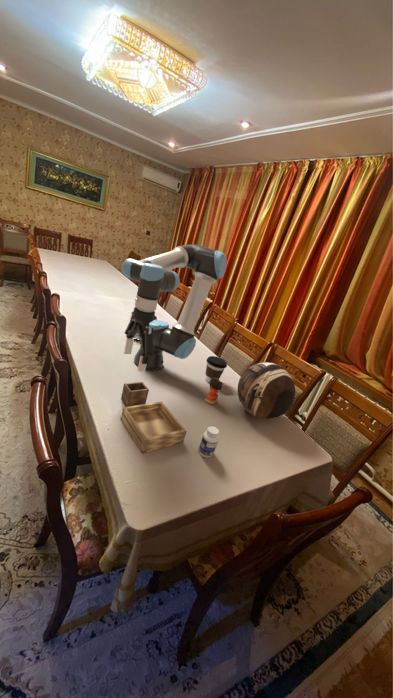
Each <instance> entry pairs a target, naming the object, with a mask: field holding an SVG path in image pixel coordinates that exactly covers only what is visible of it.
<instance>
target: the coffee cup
mask: <svg viewBox="0 0 393 698" xmlns="http://www.w3.org/2000/svg"><path fill="white" fill-rule="evenodd" d="M227 367H228V364H227V361H226V360H225V359H224V358H222V357H220V356H214V355H211V356H208V357H207V358H206V368H205V377H204V379H205V381H206V382H208V384H210V380H211V379H212V378H213V377H216V378H218V379H219V380H220V379H221V376H222V375H223V373H224V371H225V369H226V368H227Z"/></svg>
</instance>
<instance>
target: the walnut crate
mask: <svg viewBox="0 0 393 698" xmlns="http://www.w3.org/2000/svg"><path fill="white" fill-rule="evenodd" d="M149 391H150V389H149V387H147V386H146V384H145V383H144V382H143V381H137V382H136V381H135V382H128V383H127V382H125V383H123V388H122V393H121V397H120V399H121V401H122V400H123V401H122V402H123V404H124V405H125V407H129V406H135V405H142V404H147V400H148V399H147V398H148V395H149Z"/></svg>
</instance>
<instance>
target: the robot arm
mask: <svg viewBox="0 0 393 698" xmlns="http://www.w3.org/2000/svg"><path fill="white" fill-rule="evenodd" d="M227 262H228V261H227V256H226V254H225V253H224V252H221V251H219V250H218V249H213V248H209V247H206V246H202V245H199V244H184V245H179V246H176V247H174V248H173V249H172V250H171V251H168V252H167V251H166V252H164V253H160V254H157V255H153V256H150V257H146V258H142V259H140V260H139V259H138V260H137V259H135V258H127V259H125V260H124V261H123V263H122V265H121V271H122V275H123V276H124V277H125V278H127V279H130V280H131V281H134V282H137V283H138V285H137V286H138V287H137V292H136V298H135V299H134V301H135V302H134V306H135V307H133V310H132V312H133V315H132V317H131V316H130V317H131V320H130V319H129V322H128V325H127V326H126V329H125V331H124V334H125V338H126V340H125V346H124V351H123V354H124V355H132V352H133V351H132V350H133V346H134V341H135V340H134V339H133V338H135V337H134V336H135V335H136V334H137V332H138V334H139V337H140V338H141V341H140V345H139V346H140V347H139V348H138V350H137V352H136V354H135V355H134V358H133V363H134V362H135V363H136V364H137V365H138V366H137V365H136V364H135V363H134V364H135V365H136V366H137V371H138V372H145V371H146V370H149V371H158V370H161V369H162V368H163V365H164V354H163V352H164V353H167V354H170V355H171V356H173V357H175V358H179V359H180V360H184V359H187V358H188V357H189V356H190V355H191V354H192V352H193V351H194V350H195V347H196V346H197V345H196V344H197V340H196V338H195V337H196V334H195V328H196V325H197V323H198V320H199V317H200V315H201V314H202V313H201V312H202V311H203V307H204V305H205V303H206V300H207V298H208V295H209V292H210V290H211V288H212V285H213V284H216V283H217V281H218V280H219V279H222V278H223V277H224V275H225V273H226V270H227ZM176 268H177V269H178V268H179V269H183V268H188V269H190V270H193V275H194V276H195V277H194V280H193V282H192V285H191V288H190V291H189V293H188V295H187V298H186V300H185V303H184V305H183V308H182V310H181V313H180V316H179V318H178V320H177V322H176V324H174V325H172V327H171V328H170V323H168V322H167V321H163V320H158V319H157V320H154V316H156V310H157V306H158V301H159V297H160V293H163V292H165V293H166V292H173V291H175V290H177V288H179V286H180V282H181V281H180V280H181V279H180V276H179V274H177V272H175V271H173V269H176Z"/></svg>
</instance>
